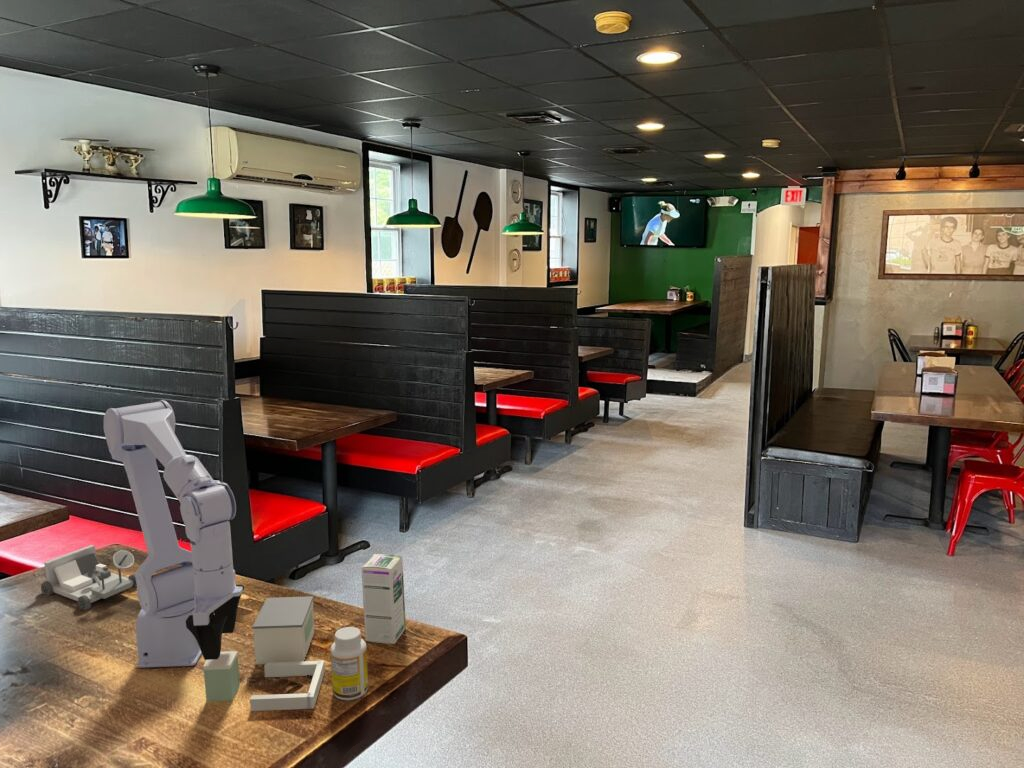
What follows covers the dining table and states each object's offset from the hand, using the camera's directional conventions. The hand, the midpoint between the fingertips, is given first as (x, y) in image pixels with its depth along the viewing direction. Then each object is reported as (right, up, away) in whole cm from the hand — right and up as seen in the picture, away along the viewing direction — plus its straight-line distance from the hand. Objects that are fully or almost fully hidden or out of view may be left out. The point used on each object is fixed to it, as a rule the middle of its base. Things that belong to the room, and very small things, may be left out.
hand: (219, 644), depth 119 cm
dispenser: (+6, -6, +15) cm, 17 cm away
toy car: (-39, -2, +36) cm, 53 cm away
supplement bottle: (+20, -8, +2) cm, 22 cm away
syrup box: (+23, -5, +19) cm, 30 cm away
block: (0, -8, +2) cm, 9 cm away
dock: (+10, -8, +2) cm, 13 cm away
